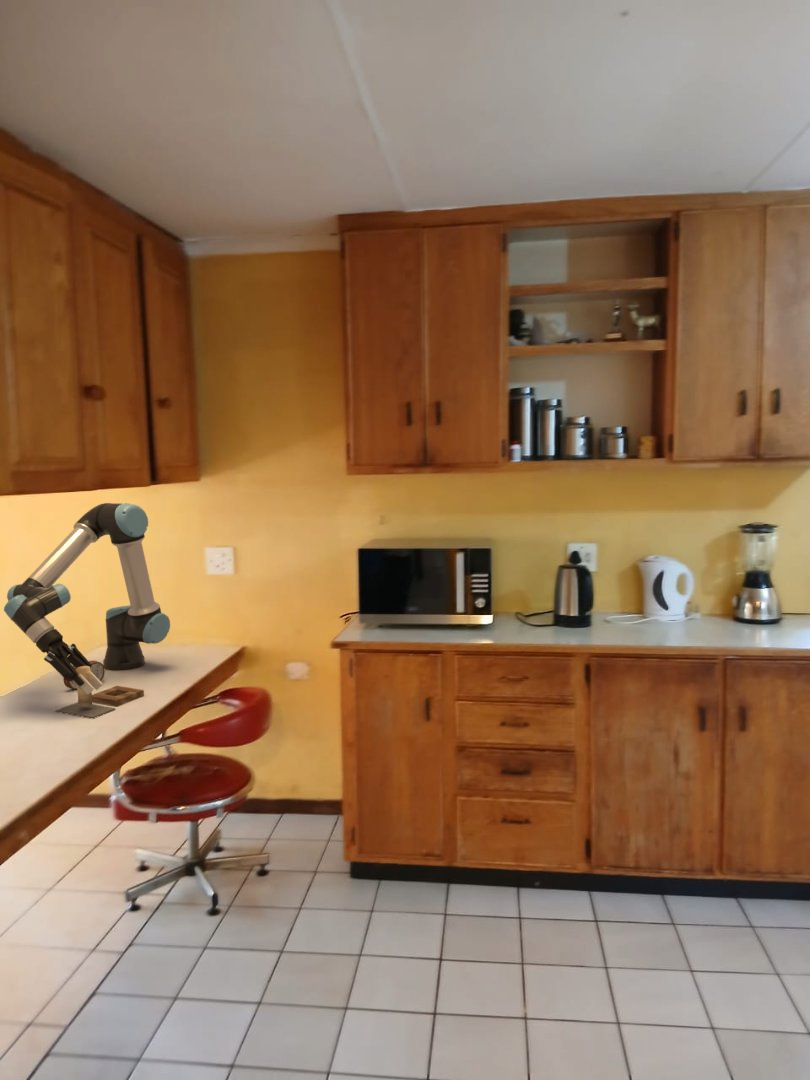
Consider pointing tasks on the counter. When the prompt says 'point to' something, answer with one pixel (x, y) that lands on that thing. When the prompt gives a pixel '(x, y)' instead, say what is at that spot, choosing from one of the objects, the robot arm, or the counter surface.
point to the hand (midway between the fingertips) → (95, 689)
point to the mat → (86, 710)
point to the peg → (83, 697)
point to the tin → (95, 668)
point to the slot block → (111, 699)
